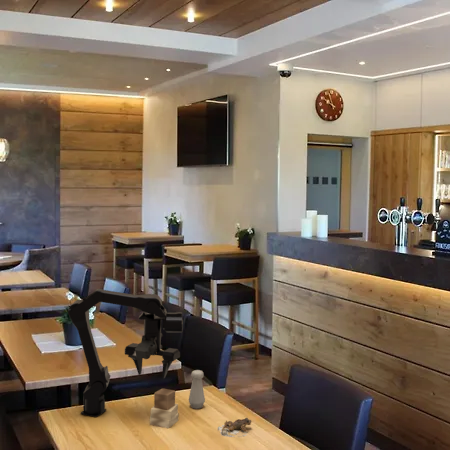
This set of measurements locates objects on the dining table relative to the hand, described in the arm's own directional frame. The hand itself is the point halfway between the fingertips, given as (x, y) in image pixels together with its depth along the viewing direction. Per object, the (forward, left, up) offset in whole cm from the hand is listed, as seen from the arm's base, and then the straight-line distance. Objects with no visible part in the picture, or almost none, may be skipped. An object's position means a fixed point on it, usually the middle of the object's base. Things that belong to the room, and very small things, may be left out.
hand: (151, 376), depth 210 cm
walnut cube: (+8, -5, -8) cm, 12 cm away
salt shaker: (+12, +12, -13) cm, 21 cm away
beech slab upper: (+8, -5, -10) cm, 14 cm away
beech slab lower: (+8, -5, -14) cm, 16 cm away
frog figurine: (+31, 0, -14) cm, 34 cm away
